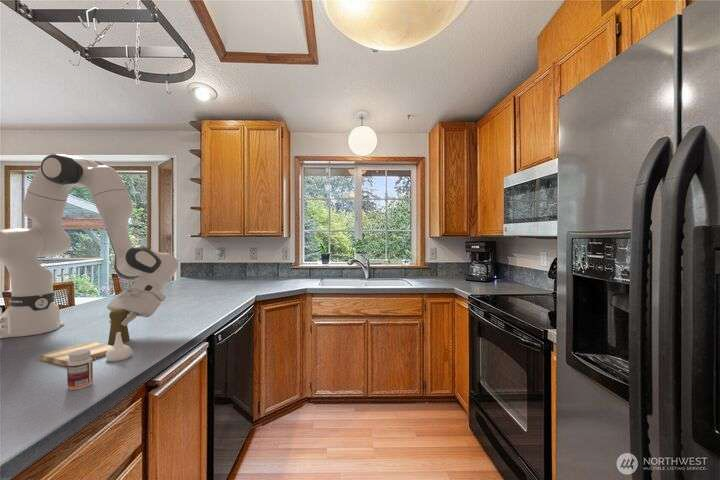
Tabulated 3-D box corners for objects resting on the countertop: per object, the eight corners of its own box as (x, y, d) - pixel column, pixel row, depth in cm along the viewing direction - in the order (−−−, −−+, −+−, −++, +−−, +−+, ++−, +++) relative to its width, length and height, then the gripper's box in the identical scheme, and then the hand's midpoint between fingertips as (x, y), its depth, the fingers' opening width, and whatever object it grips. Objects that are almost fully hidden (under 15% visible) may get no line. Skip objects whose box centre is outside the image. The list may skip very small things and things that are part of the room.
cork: (118, 344, 110) (117, 311, 109) (103, 343, 111) (102, 311, 111) (134, 338, 116) (133, 307, 115) (119, 337, 117) (119, 307, 117)
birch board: (40, 359, 97) (40, 354, 97) (90, 345, 109) (90, 341, 109) (68, 367, 91) (68, 361, 91) (118, 351, 103) (117, 346, 103)
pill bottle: (77, 381, 82) (76, 348, 82) (97, 381, 83) (97, 348, 83) (61, 390, 78) (61, 355, 78) (83, 390, 78) (82, 355, 78)
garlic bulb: (110, 357, 100) (106, 332, 99) (134, 353, 102) (131, 328, 102) (103, 365, 94) (99, 338, 94) (129, 360, 97) (126, 333, 96)
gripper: (120, 284, 123) (90, 316, 114) (157, 288, 116) (129, 322, 107) (132, 294, 127) (104, 325, 119) (169, 298, 120) (143, 332, 111)
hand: (116, 324), depth 113 cm, fingers closed on cork, 4 cm apart
